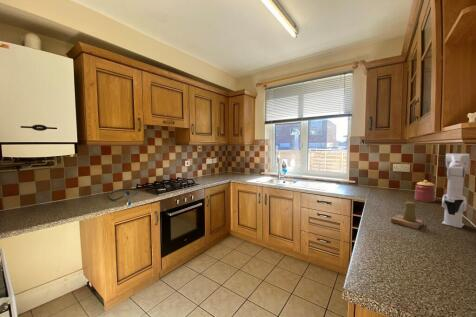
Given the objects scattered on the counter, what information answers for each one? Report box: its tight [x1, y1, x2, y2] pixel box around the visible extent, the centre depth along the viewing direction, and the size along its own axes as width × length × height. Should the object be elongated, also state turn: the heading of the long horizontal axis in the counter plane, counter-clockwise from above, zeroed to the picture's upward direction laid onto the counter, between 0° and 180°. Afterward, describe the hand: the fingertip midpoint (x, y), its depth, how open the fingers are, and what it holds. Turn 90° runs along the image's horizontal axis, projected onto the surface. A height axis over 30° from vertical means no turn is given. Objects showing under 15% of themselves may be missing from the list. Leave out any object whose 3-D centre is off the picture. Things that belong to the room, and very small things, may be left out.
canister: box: [413, 179, 437, 203], centre depth 169 cm, size 13×13×18 cm
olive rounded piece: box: [403, 201, 417, 222], centre depth 119 cm, size 6×6×11 cm
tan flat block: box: [390, 214, 424, 230], centre depth 121 cm, size 12×12×2 cm
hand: (453, 213), depth 108 cm, fingers open, 7 cm apart
